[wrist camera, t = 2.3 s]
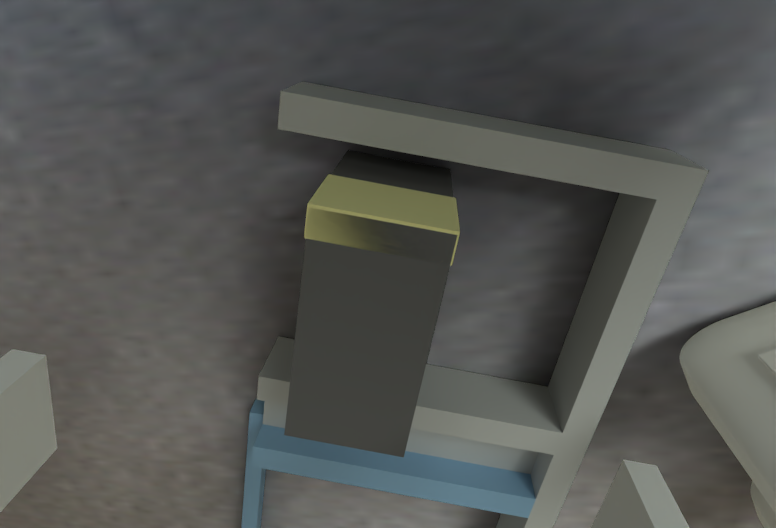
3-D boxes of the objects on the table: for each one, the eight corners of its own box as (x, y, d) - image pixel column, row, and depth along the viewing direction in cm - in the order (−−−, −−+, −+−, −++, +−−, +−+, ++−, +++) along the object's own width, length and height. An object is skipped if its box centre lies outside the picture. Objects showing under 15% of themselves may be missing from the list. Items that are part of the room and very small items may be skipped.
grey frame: (280, 77, 19) (255, 86, 17) (669, 150, 19) (708, 170, 17) (243, 564, 31) (225, 616, 28) (486, 610, 31) (491, 666, 28)
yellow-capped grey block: (347, 147, 20) (307, 203, 14) (451, 166, 20) (459, 232, 14) (323, 324, 24) (282, 434, 17) (412, 341, 24) (405, 457, 17)
